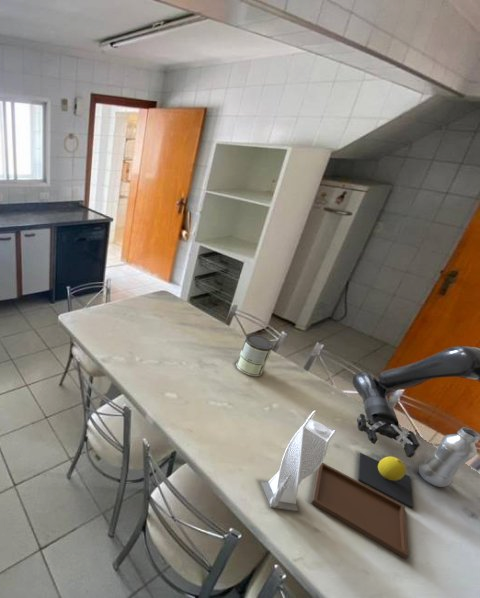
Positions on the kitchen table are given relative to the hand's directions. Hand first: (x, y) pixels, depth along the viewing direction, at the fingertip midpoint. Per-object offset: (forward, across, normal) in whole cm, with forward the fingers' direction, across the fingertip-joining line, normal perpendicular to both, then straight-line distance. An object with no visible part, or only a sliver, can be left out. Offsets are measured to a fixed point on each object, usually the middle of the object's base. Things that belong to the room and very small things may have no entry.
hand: (392, 448), depth 97 cm
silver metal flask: (-3, +13, +8) cm, 15 cm away
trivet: (+5, 0, +8) cm, 9 cm away
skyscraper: (+28, -27, +8) cm, 40 cm away
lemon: (+5, 0, +7) cm, 9 cm away
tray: (+20, -9, +8) cm, 23 cm away
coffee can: (-28, -40, +8) cm, 49 cm away
